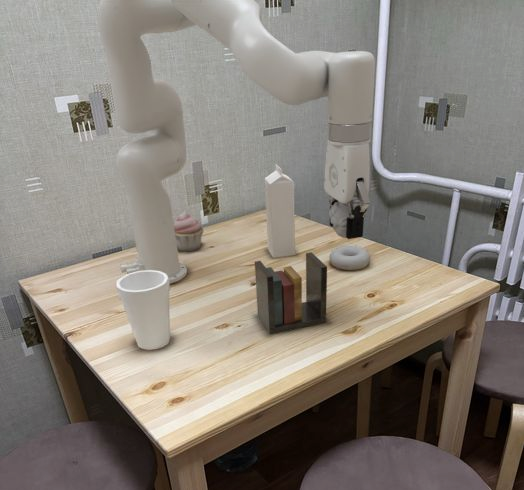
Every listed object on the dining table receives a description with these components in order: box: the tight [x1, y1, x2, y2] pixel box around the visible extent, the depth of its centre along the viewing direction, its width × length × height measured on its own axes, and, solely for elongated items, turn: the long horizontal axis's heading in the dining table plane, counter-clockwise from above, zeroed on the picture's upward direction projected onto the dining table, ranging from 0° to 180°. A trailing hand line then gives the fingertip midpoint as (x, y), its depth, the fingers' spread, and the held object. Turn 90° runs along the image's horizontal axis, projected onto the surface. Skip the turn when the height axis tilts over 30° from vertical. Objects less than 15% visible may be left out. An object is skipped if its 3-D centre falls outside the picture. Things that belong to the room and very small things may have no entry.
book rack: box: [254, 251, 328, 335], centre depth 104 cm, size 12×8×12 cm, turn 107°
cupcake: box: [173, 211, 205, 252], centre depth 142 cm, size 9×9×10 cm
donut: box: [328, 245, 371, 271], centre depth 129 cm, size 10×4×10 cm
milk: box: [264, 163, 296, 259], centre depth 133 cm, size 6×6×22 cm
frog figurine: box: [328, 201, 357, 239], centre depth 100 cm, size 6×7×7 cm
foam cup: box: [115, 270, 171, 351], centre depth 99 cm, size 10×9×13 cm
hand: (345, 230), depth 101 cm, fingers closed on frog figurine, 6 cm apart
